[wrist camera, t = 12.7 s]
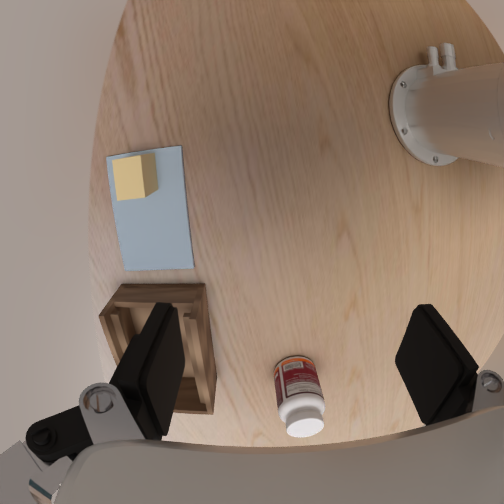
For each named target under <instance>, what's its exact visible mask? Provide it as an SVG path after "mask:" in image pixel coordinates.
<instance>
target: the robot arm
mask: <svg viewBox="0 0 504 504" xmlns="http://www.w3.org/2000/svg"><path fill="white" fill-rule="evenodd" d="M439 45H440V52H441V58H442V63H443V66H440V65H439V61H438V58H439V57H438V49H437V48H436V47H433V46H428V47H426V48H427V56H428V60H429V64H427V65H416V66H413V67H410V68H408V69H406V70H404V71H403V72H402V73H401V74H400V75H399V76H398V77H397V78H396V80H395V82H394V83H393V86H392V89H391V93H390V100H389V107H390V116H391V121H392V124H393V127H394V131H395V133H396V135H397V137H398V139H399V141H400V142H401V143H402V145H403V146H404V148H405V149H406V150H407V151H408V152H409V153H410V154H411V155H412V156H413V157H415V158H416V159H417V160H419V161H421V162H423V163H426V164H430V165H434V166H444V165H448V164H450V163H452V162H454V161H455V160H457V159H458V158H464V159H468V160H473V161H477V162H482V163H486V164H490V165H494V166H498V167H501V168H504V62H502V63H494V64H487V65H480V66H474V67H468V68H463V69H458V68H456V63H455V59H456V56H455V49H454V46H453V45H452V44H449V43H440V44H439ZM400 84H401V85H400ZM401 130H402V131H401ZM395 364H396V366H397V368H398V370H399V372H400V375H401V377H402V379H403V381H404V383H405V385H406V387H407V390H408V392H409V394H410V396H411V398H412V401H413V403H414V405H415V408H416V410H417V412H418V414H419V417H420V419H421V421H422V423H424V424H425V425H426V426H424V427H420V428H416V429H412V430H408V431H404V432H400V433H395V434H390V435H385V436H380V437H374V438H369V439H363V440H356V441H349V442H341V443H332V444H322V445H310V446H293V447H235V446H216V445H202V444H191V443H182V442H171V441H161V439H162V435H163V436H167V434H168V430H169V426H170V422H171V418H172V414H173V410H174V406H175V403H176V399H177V395H178V391H179V387H180V383H181V380H182V376H183V372H184V368H185V355H184V349H183V342H182V336H181V330H180V323H179V316H178V309H177V307H173V305H172V303H164V302H156V304H155V306H154V308H153V309H152V311H151V313H150V315H149V317H148V319H147V321H146V323H145V325H144V327H143V329H142V331H141V333H140V334H135V335H134V336H133V337H132V339H131V341H130V343H129V344H128V346H127V348H126V350H125V352H124V354H123V356H122V358H121V360H120V362H119V364H118V366H117V368H116V370H115V372H114V374H113V376H112V378H111V380H110V382H109V384H108V383H96V384H92V385H90V386H88V387H87V388H86V389H85V390H83V392H82V393H81V395H80V398H79V406H76V407H74V408H71V409H69V410H66V411H64V412H61V413H59V414H56V415H54V416H51V417H48V418H45V419H43V420H40V421H38V422H36V423H34V424H32V425H31V427H29V429H28V431H27V433H26V441H24V442H23V443H22V442H21V441H18V442H17V443H16V444H15V445H13V446H12V447H10V448H9V449H7V450H6V451H5V452H3V453H2V454H1V455H0V504H52V503H51V498H52V495H53V494H54V492H55V491H56V490H58V489H59V490H58V493H57V496H56V499H55V502H54V504H504V382H503V379H502V378H501V377H500V376H499V375H498V374H497V373H496V372H493V371H491V370H483V371H481V372H480V373H479V374H477V373H476V371H477V370H478V368H479V366H478V365H477V363H476V362H475V360H474V359H473V357H472V356H471V355H470V353H469V352H468V351H467V349H466V348H465V346H464V345H463V344H462V342H461V341H460V340H459V338H458V337H457V336H456V334H455V333H454V332H453V330H452V329H451V328H450V327H449V325H448V324H447V323H446V321H445V320H444V319H443V318H442V316H441V315H440V314H439V313H438V311H437V310H436V309H435V308H434V307H433V305H431V304H421V305H418V306H417V308H415V309H414V310H413V313H412V316H411V318H410V321H409V324H408V327H407V329H406V332H405V335H404V337H403V340H402V342H401V345H400V347H399V350H398V352H397V355H396V357H395ZM60 483H61V486H60V485H59V484H60Z"/></svg>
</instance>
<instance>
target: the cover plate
mask: <svg viewBox="0 0 504 504" xmlns="http://www.w3.org/2000/svg"><path fill="white" fill-rule="evenodd" d="M106 159H107V169H108V177H109V185H110V192H111V199H112V206H113V212H114V218H115V224H116V229H117V235H118V240H119V245H120V250H121V254H122V259H123V264H124V268H125V271H138V270H165V269H190V268H194V267H195V265H194V257H193V250H192V242H191V234H190V225H189V216H188V207H187V197H186V187H185V176H184V165H183V152H182V146H174V147H166V148H159V149H152V150H145V151H138V152H132V153H126V154H120V155H115V156H109V157H106Z"/></svg>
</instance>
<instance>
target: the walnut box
mask: <svg viewBox="0 0 504 504" xmlns="http://www.w3.org/2000/svg"><path fill="white" fill-rule="evenodd" d="M156 302H164V303H172V305H173V307H177V309H178V316H179V323H180V330H181V336H182V342H183V349H184V355H185V368H184V372H183V376H182V380H181V383H180V387H179V391H178V395H177V399H176V403H175V406H174V410H173V412H175V413H189V414H211V415H213V412H214V401H215V391H216V381H217V373H216V366H215V359H214V352H213V345H212V337H211V329H210V321H209V313H208V305H207V296H206V287H205V284H121V286H120V287H119V288H118V290H117V291H116V292H115V294H114V295H113V296H112V298H111V299H110V300H109V302H108V303H107V305H106V306H105V307H104V309H103V310H102V312H101V313H100V314H99V319H100V322H101V325H102V328H103V331H104V334H105V336H106V339H107V342H108V345H109V347H110V350H111V353H112V355H113V358H114V360H115V363H116V365H117V366H118V364H119V362H120V360H121V358H122V356H123V354H124V352H125V350H126V348H127V346H128V344H129V343H130V341H131V339H132V337H133V336H134V335H135V334H140V333H141V331H142V329H143V327H144V325H145V323H146V321H147V319H148V317H149V315H150V313H151V311H152V309H153V308H154V306H155V304H156Z"/></svg>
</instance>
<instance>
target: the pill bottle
mask: <svg viewBox="0 0 504 504" xmlns="http://www.w3.org/2000/svg"><path fill="white" fill-rule="evenodd" d="M274 381H275V389H276V397H277V406H278V413H279V417H280V418H281V420H282V421H283V422H285V423H286V431H287V433H288V434H289V435H291V436H293V437H308V436H312V435H314V434H316V433H318V432H319V431H321V430H322V428H323V427H324V421H323V417H322V414H323V413H324V411H325V402H324V398H323V394H322V390H321V387H320V383H319V379H318V376H317V372H316V369H315V366H314V364H313V362H312V361H311V360H309V359H308V358H305V357H300V356H295V357H289V358H286V359H284V360H283V361H281V362H280V363H279V364H278V365H277V366H276V368H275V370H274Z"/></svg>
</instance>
